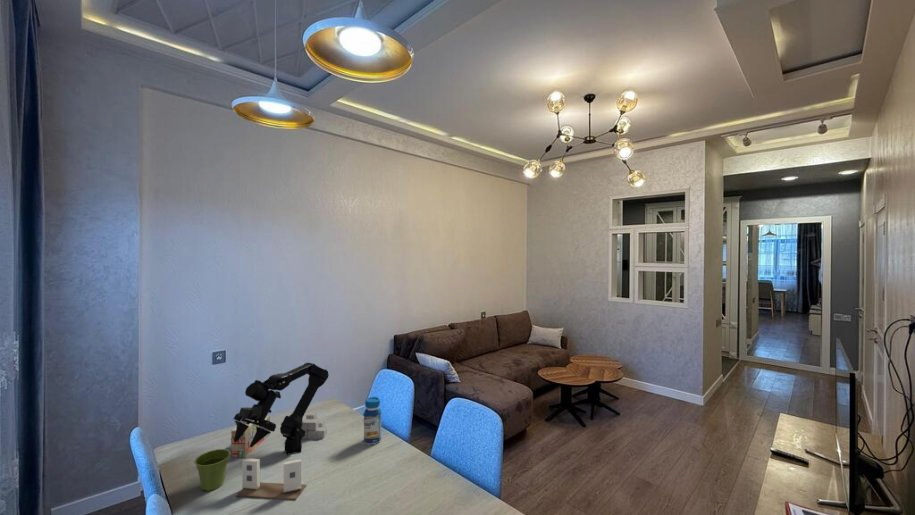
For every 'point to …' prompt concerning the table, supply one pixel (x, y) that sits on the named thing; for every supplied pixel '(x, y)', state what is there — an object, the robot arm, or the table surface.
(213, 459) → the plant pot
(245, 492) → the tile board
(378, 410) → the beverage bottle
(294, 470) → the tile
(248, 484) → the tile
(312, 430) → the puzzle cube
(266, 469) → the table surface
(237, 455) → the stack of blocks
